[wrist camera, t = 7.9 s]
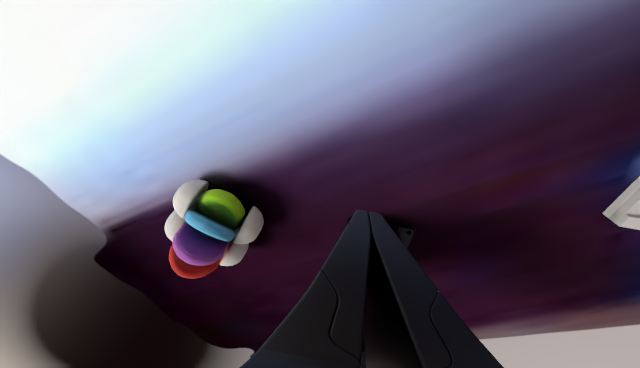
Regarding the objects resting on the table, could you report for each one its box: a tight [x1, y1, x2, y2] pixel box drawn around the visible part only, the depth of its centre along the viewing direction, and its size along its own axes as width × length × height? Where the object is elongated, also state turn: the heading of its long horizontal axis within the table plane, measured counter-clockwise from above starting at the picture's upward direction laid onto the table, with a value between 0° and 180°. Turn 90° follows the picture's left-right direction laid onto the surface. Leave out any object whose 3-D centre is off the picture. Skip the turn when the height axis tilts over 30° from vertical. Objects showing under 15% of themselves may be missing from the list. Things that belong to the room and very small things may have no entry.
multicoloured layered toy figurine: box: [165, 180, 264, 279], centre depth 23 cm, size 8×10×7 cm
